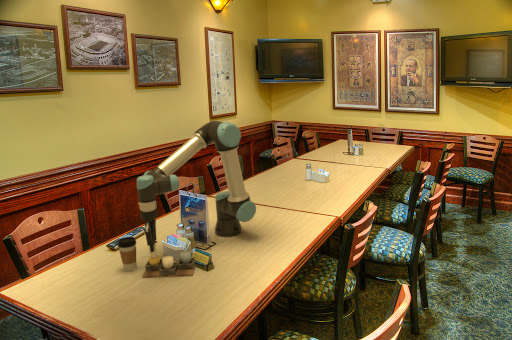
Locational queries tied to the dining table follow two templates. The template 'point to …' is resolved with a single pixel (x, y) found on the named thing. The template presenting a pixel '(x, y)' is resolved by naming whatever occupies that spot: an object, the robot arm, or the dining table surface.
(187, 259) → the slate button
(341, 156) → the dining table surface
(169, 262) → the beige round cylinder
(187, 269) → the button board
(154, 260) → the mustard button
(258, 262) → the dining table surface
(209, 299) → the dining table surface
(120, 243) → the coffee cup
